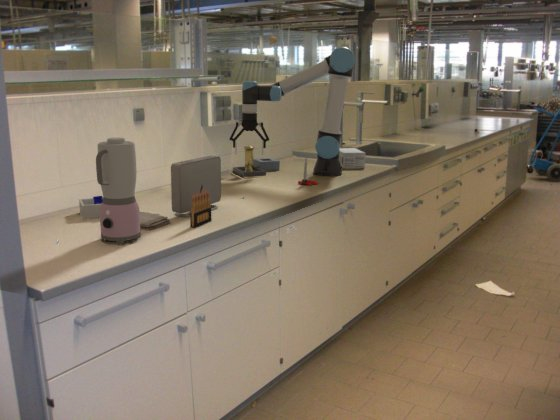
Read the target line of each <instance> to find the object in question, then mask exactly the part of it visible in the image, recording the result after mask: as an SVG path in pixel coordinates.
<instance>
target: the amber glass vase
mask: <svg viewBox="0 0 560 420" xmlns="http://www.w3.org/2000/svg"><path fill="white" fill-rule="evenodd" d="M243 150H244V167H245V171H244V172H254V168H253V159H254V150H255V146H253V145H245V146H243Z"/></svg>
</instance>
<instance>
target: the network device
mask: <svg viewBox="0 0 560 420" xmlns="http://www.w3.org/2000/svg"><path fill="white" fill-rule="evenodd" d="M221 162H222V160H221V156H217V155H207V156H201V157H196V158H192V159H187V160H181V161H177V162H173V163H171V165H170V183H171V184H170V186H171V187H170V188H171V189H170V190H171V191H170V192H171V211H172V212H173V213H175V214H174V215H175V216H177V217H182V218H190V214H185V213H188V212H191V204H192V195H193V193H194V195H195V193H196V192H197V195H198V192H200V194H201V191H203V193H204V190H206V191H207V189H208V190H209V196H210V207H211V212H212V211H215V210H218V209H219V206H218V205H217V204H216V203H218V202H221V199H222V177H221V176H222V175H221V173H222V167H221V165H222V164H221ZM215 204H216V205H215Z"/></svg>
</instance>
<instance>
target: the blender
mask: <svg viewBox="0 0 560 420" xmlns="http://www.w3.org/2000/svg"><path fill="white" fill-rule="evenodd" d="M95 167H96V168H95V170H96V181H97V184H99V185H100V188H101V191H102V197H103V201H102V203H101V206H100V218H99V223H100V226H99V227H100V239H101V242H105V241H111V242H116V245H124V244H125V242H126V241H131V240H135V239H137V238H139V237H140V238H141V235H142V232H141V230H142V229H140V212H141V211H140V206H139V203H138V202H137V200H136V197H135V193H136V184H137V183H136V182H137V174H138V173H137V171H138V170H137V156H136V146H135V143H134V142H133V141H129V140H127V141H126V139H125V138H124V137H109V138H107V139H106V141H100V142H98V143H97V154H96V157H95Z"/></svg>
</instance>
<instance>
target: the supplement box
mask: <svg viewBox="0 0 560 420" xmlns="http://www.w3.org/2000/svg"><path fill="white" fill-rule="evenodd" d="M366 154H367V153H366V152H365V151H362V150H360V149H358V148H356V147H353V148H352V147H351V148H349V147H348V148H345V147H344V148H341V147H340V151H339V161H340V165H341V167H342V168H341V169H343V168H345V169H365V167H366Z"/></svg>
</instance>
